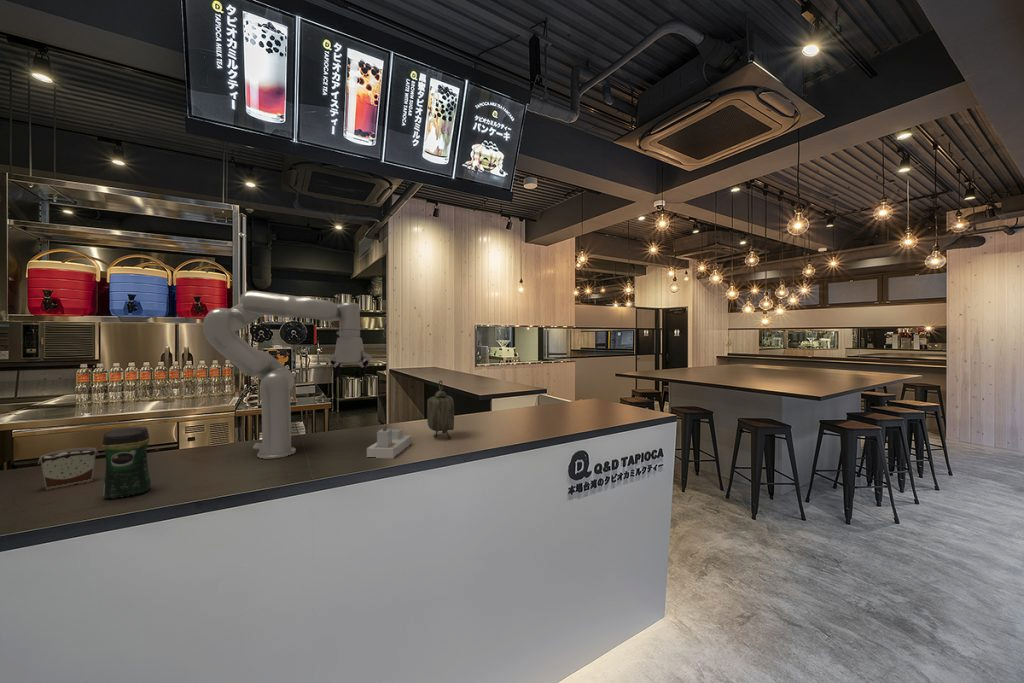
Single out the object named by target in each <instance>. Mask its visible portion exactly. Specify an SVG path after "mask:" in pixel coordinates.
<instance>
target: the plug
mask: <svg viewBox="0 0 1024 683" xmlns="http://www.w3.org/2000/svg"><path fill="white" fill-rule="evenodd" d="M387 425H388V424H383V425H382V428H381V429H379V430H378V431H377V432H376V442H377V448H390V447H391V446H392V429H391V428H387Z"/></svg>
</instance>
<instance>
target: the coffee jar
mask: <svg viewBox="0 0 1024 683" xmlns="http://www.w3.org/2000/svg"><path fill="white" fill-rule="evenodd" d="M148 430H149V429H148V428H147V427H146V426H142V427H141V426H140V427H139V426H137V427H125V428H117V429H111V430H108V431H106V432H105V433H104V435H103V438H102V439H103V440H102V447H101V448H102V450H103V451H104V454H105V472H104V481H103V482H104V483H103V490H102V491H103V498H105V499H108V498H111V499H114V498H113V497H121V496H127V497H129V496H128V495H133V496H136V495H135V494H137V495H140V493H141V494H142V493H145V491H146V492H147V491H148V489H150V488H151V486H152V485H151V476H150V475H151V474H150V471H149V462H148V457H147V456H148V454H147V451H148V450H147V448H148V445H149V442H150V435H149V431H148ZM121 498H122V497H121Z"/></svg>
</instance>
